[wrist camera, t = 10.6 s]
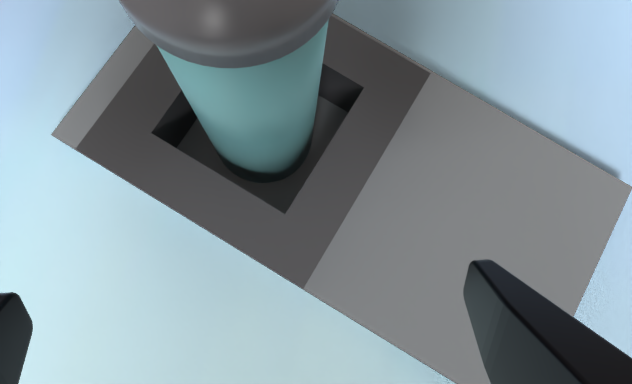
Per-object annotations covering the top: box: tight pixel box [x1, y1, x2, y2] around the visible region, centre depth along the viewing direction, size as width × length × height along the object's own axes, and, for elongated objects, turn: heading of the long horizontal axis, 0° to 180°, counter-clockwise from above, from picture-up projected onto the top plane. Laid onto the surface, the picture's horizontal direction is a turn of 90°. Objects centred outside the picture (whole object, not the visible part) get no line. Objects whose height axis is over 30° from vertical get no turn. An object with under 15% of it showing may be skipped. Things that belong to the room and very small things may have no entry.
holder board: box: [51, 13, 632, 384], centre depth 20 cm, size 24×12×4 cm, turn 59°
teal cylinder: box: [119, 0, 338, 183], centre depth 15 cm, size 5×5×13 cm
